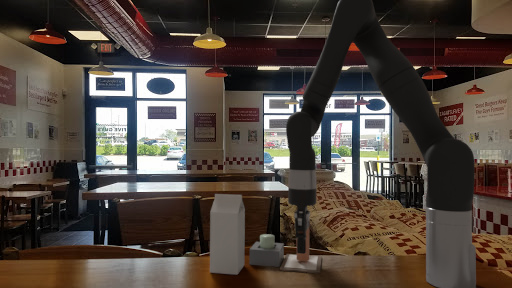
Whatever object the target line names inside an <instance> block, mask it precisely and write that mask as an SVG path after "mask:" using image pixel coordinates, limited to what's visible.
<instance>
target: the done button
mask: <svg viewBox="0 0 512 288" xmlns="http://www.w3.org/2000/svg"><path fill="white" fill-rule="evenodd" d="M259 242H260V248H264V249H274V248H275V243H276V242H275V235H274V234H267V233H263V234H260V235H259Z"/></svg>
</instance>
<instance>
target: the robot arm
mask: <svg viewBox="0 0 512 288" xmlns="http://www.w3.org/2000/svg"><path fill="white" fill-rule="evenodd" d="M375 10H376V9H375V7H374V2H373V0H339V1H338V2H337V5H336V7H335V11H334V14H333V19H332V22H331V25H330V29H329V32H328V34H327V37H326V40H325V43H324V45H323V49H322V51H321V54H320V56H319V59H318V61H317V62H316V64H315V67H314V69H313V71H312V73H311V76H310V78H309V80H308V82H307V84H306V87H305V88H304V91H303V94H302V100H303V103H302V106H301V109H300V110H299V111H295V112H293V113H292V114H290V115H289V116H288V118H287V121H286V125H285V126H286V127H285V133H286V134H285V135H286V140H287V147H288V151H289V158H288V159H289V167H288V169H289V170H288V171H289V172H288V190H287V193H288V194H287V199H288V201H287V202H288V204H289V205H291V206H296V209H295V211H294V212H293V218H294V229H295V235H294V236H295V238H296V254H297V253H302V254H304V253H305V252H306V238H307V236H306V230H308V221H309V222H310V218H311V210H309V209H308V207H312V206H315V205H316V204H317V172H316V166H317V165H316V164H317V163H316V161H317V159H316V152H315V149H314V148H313V140H312V139H313V137H314V136H315V135H316V134H317V132H318V131H319V129H320V127H321V124H322V121H323V119H324V118H323V117H324V115H325V112H326V108H327V105H328V104H329V102H330V99H331V97H332V95H333V93H334V91H335V89H336V87H337V85H338V82H339V81H340V77H341V74H342V70H343V67H344V63H345V60H346V57H347V55H348V52H349V49H350V48H351V45H352V44H354V45H355V47H356V48H357V49H358V50H359V52H360V53H361V55H362V56H363V59H364V61H365V62H366V65H367V67H368V70H369V73H370V74H371V77H372V78H373V81H374V82H375V84H376V85H377V88H378V89H379V91H380V92H381V95H383V97H384V98H385V101H386V102H387V103H388V105H389V106H390V107H391V109H392V110H393V112H394V113H395V114H396V116H397V117H398V119H399V120H400V121H401V122H402V123H403V124H404V126H405V127H406V129H407V130H408V132H409V133H410V134H411V136H412V138H413V140H414V142H415V144H416V145H417V148H418V150H419V152H420V154H421V156H422V158H423V161H424V163H425V165H426V168H427V170H426V172H427V173H426V178H427V179H426V180H427V181H426V184H427V185H426V195H425V232H426V233H425V280H426V282H427V283H429V284H430V285H432V286H434V287H435V288H477V274H476V273H477V272H476V270H477V268H476V267H477V266H476V265H477V263H476V258H477V255H476V253H477V252H476V251H477V250H476V249H477V247H476V246H475V245H474V244H473V218H472V217H473V211H472V209H473V206H472V205H473V200H474V195H475V157H474V153H473V151H472V149H471V147H470V146H469V145H468V143H466V142H463V141H462V140H460V139H458V138H455V137H454V136H453V135H452V133H451V132H450V131H449V130H448V128H447V127H446V126H445V124H444V123H443V121H442V120H441V119H440V117H439V115H438V113H437V111H436V108H435V106H434V103H433V101H432V98H431V96H430V93H429V91H428V89H427V86H426V84H425V83H424V81H423V79H422V78H421V76H420V74H419V73H418V71H417V70H416V68H415V67H414V65H413V64H412V62H411V61H410V60H409V59H408V58H407V57H406V56H405V55H404V53H403V52H401V50H400V49H399V48H398V47H397V46H395V44H394V43H393V42H392V41H391V40H390V39H389V37H388V36H387V35H386V34H387V33H385V31H384V29H383V27H382V25H381V23H380V21H379V19H378V17H377V14H376V11H375ZM305 224H306V226H305ZM299 231H303V234H302V233H299Z"/></svg>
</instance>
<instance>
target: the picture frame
mask: <svg viewBox="0 0 512 288" xmlns="http://www.w3.org/2000/svg"><path fill="white" fill-rule="evenodd" d="M322 257H323V256H321V255H310V254H309V260H308V261H299V260H297V253H295V254H294V253H286V255H284V258H283V260H282V262H281V264H280V267H279V271H281V272H282V271H284V272H295V273H297V272H298V273H306V272H307V273H309V274H318V275H319V274H321V268H322V259H323V258H322ZM307 273H306V274H307Z"/></svg>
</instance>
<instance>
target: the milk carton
mask: <svg viewBox="0 0 512 288" xmlns="http://www.w3.org/2000/svg"><path fill="white" fill-rule="evenodd" d="M209 211H210V213H209V215H210V216H209V218H210V220H209V225H210V226H209V228H210V229H209V273H210V274H211V273H213V274H223V275H224V274H225V275H238V274H239V273H240V272H241V271H242V269H243V268H244V266H245V242H246V241H245V237H246V236H245V235H246V234H245V229H246V225H245V224H246V223H245V222H246V220H245V219H246V217H245V215H246V212H245V211H246V208H245V205H244V201H243V194H225V193H223V194H222V193H214V200H213V202H212V206H211V208H210V210H209Z"/></svg>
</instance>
